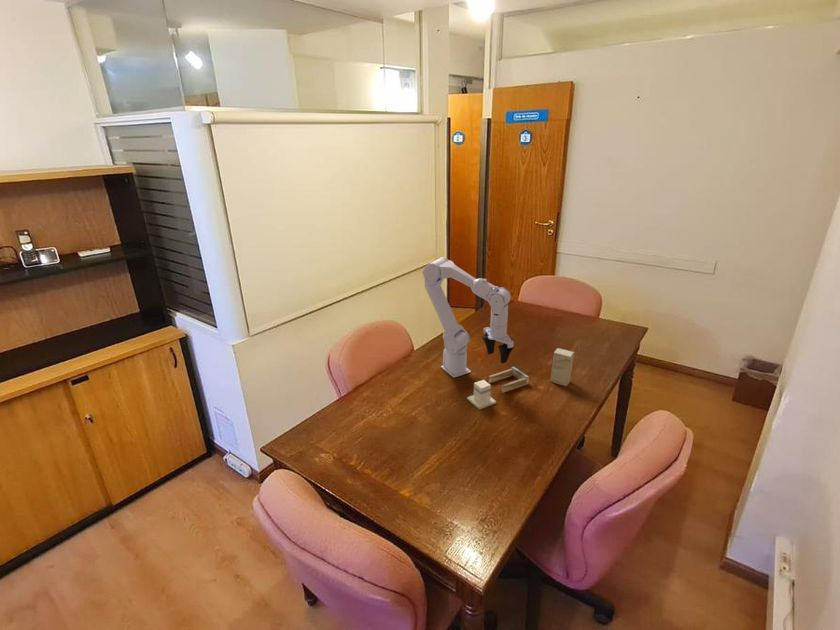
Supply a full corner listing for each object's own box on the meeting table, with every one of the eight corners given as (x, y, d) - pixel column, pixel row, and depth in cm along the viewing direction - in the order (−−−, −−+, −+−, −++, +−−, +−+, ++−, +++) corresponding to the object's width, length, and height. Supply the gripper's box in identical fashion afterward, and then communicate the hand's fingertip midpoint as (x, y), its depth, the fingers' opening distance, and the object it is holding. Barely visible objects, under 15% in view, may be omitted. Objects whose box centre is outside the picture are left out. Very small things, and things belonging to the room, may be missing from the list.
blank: (473, 397, 152) (473, 382, 149) (483, 394, 153) (483, 379, 151) (480, 403, 148) (481, 388, 146) (490, 400, 150) (491, 385, 148)
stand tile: (467, 399, 152) (467, 397, 152) (483, 393, 155) (483, 391, 155) (479, 409, 147) (479, 407, 146) (496, 403, 150) (496, 401, 149)
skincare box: (549, 381, 161) (552, 352, 156) (553, 376, 165) (556, 347, 160) (567, 386, 158) (570, 356, 153) (570, 381, 161) (574, 351, 157)
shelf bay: (488, 381, 162) (488, 374, 161) (513, 373, 167) (513, 366, 166) (503, 392, 155) (503, 385, 154) (528, 383, 160) (528, 376, 159)
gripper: (477, 318, 157) (476, 352, 163) (502, 333, 145) (501, 369, 151) (493, 314, 160) (491, 347, 166) (519, 328, 149) (517, 364, 154)
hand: (497, 357), depth 158 cm, fingers open, 7 cm apart
